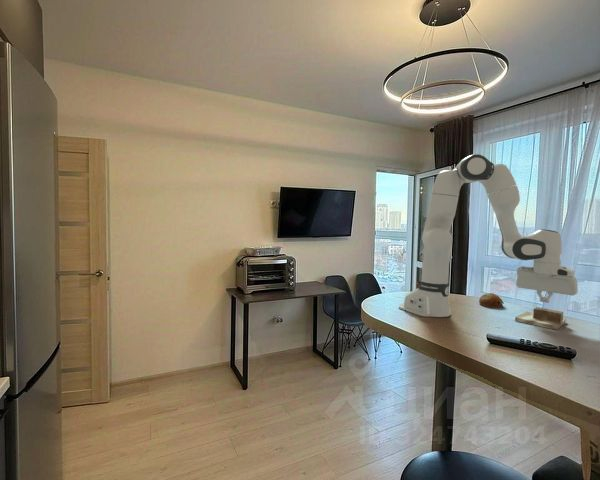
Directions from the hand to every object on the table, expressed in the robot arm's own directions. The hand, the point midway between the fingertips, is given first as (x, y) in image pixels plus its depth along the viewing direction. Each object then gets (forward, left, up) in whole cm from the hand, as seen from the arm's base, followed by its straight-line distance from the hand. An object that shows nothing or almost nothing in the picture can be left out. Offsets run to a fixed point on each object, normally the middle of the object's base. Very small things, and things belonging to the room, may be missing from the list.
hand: (544, 301), depth 133 cm
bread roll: (-24, +12, -9) cm, 28 cm away
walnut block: (-3, 0, -5) cm, 6 cm away
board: (-1, 0, -9) cm, 9 cm away
